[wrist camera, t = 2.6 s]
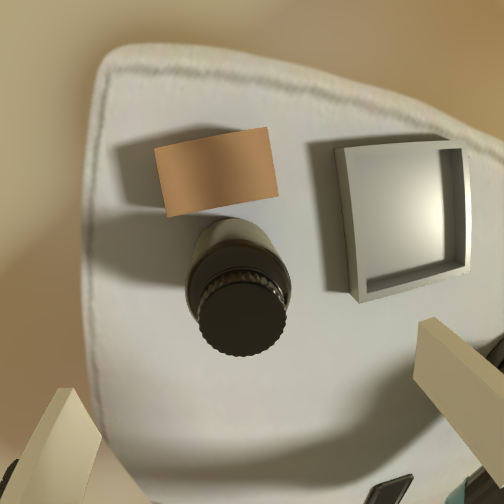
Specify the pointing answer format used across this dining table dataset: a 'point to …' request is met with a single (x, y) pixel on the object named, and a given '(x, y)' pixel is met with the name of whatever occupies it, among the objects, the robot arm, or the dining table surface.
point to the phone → (390, 491)
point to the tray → (404, 215)
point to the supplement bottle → (238, 288)
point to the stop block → (216, 171)
